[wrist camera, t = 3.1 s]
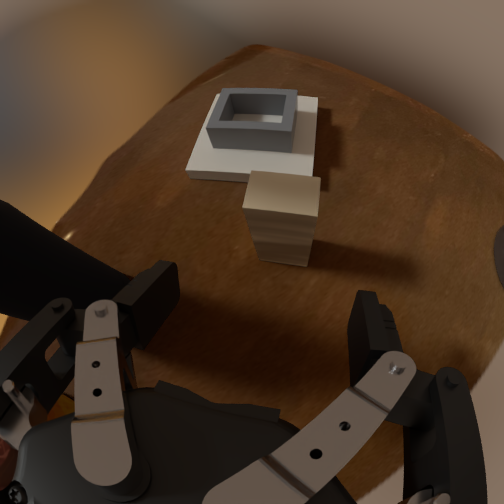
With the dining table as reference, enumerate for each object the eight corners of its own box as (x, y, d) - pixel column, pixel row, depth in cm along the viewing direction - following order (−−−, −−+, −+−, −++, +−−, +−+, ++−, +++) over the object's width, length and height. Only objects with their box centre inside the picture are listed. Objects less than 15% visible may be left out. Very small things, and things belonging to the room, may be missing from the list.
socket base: (310, 188, 25) (313, 158, 21) (190, 178, 27) (175, 150, 23) (317, 107, 29) (318, 77, 24) (219, 102, 31) (211, 75, 27)
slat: (306, 266, 22) (317, 216, 14) (259, 260, 23) (242, 207, 15) (310, 238, 23) (320, 177, 15) (264, 232, 24) (251, 170, 16)
